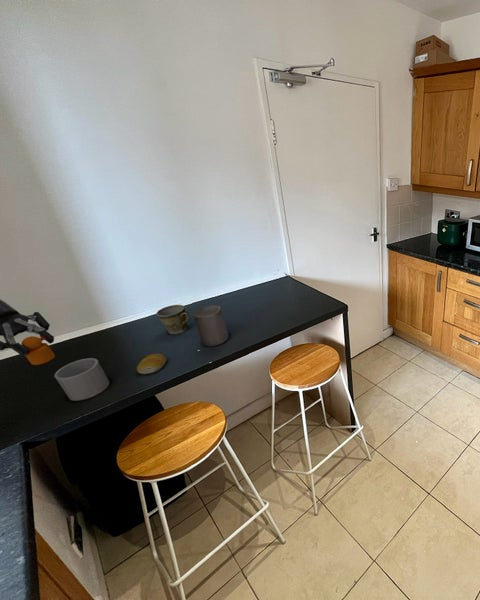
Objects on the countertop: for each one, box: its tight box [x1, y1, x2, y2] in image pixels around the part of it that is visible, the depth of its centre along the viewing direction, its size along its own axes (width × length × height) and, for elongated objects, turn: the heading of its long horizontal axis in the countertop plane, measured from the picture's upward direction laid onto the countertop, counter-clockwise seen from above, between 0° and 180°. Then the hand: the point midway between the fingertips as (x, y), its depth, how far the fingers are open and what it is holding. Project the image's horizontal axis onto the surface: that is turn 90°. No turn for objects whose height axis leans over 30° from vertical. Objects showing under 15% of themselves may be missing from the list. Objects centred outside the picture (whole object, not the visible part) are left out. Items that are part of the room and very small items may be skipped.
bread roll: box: [136, 353, 168, 375], centre depth 114 cm, size 8×9×4 cm
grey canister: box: [192, 304, 230, 347], centre depth 126 cm, size 10×10×15 cm
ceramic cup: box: [156, 304, 191, 335], centre depth 134 cm, size 13×10×10 cm
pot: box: [54, 357, 110, 402], centre depth 102 cm, size 10×10×9 cm
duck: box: [21, 335, 56, 366], centre depth 95 cm, size 6×5×8 cm
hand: (40, 347), depth 95 cm, fingers closed on duck, 5 cm apart
